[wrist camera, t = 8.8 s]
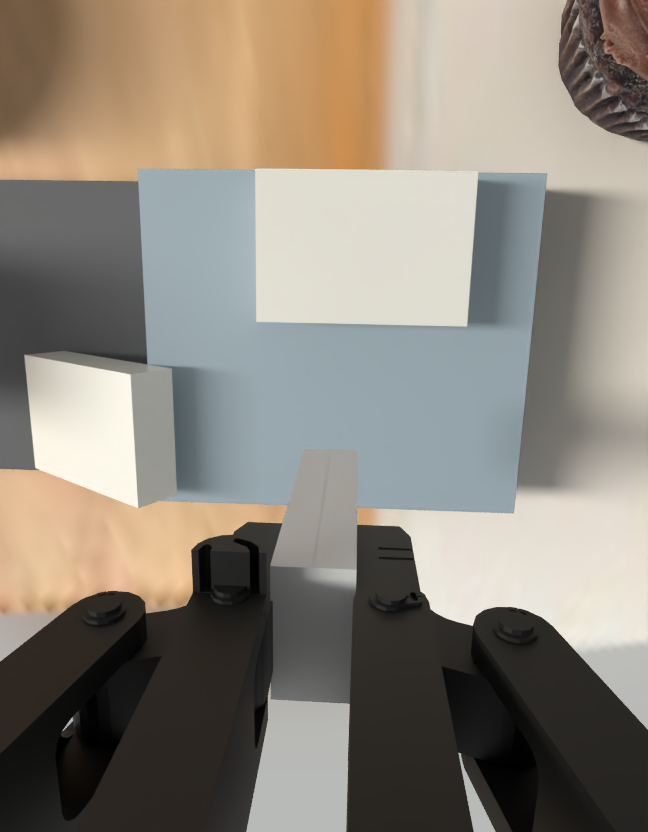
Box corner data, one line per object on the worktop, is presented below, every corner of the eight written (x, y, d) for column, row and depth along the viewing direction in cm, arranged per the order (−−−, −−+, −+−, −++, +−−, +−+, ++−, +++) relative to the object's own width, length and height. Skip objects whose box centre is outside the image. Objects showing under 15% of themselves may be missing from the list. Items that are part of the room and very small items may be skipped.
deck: (167, 183, 28) (137, 168, 24) (519, 187, 27) (547, 173, 23) (179, 471, 31) (154, 500, 27) (493, 482, 30) (513, 513, 27)
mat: (-126, 179, 28) (-133, 178, 28) (167, 183, 28) (165, 181, 27) (-85, 463, 32) (-90, 465, 31) (179, 471, 31) (177, 474, 31)
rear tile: (64, 350, 29) (24, 354, 28) (171, 368, 25) (130, 374, 23) (73, 458, 31) (35, 468, 29) (176, 494, 26) (138, 507, 25)
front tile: (263, 177, 24) (255, 168, 22) (468, 179, 23) (478, 171, 22) (263, 317, 25) (256, 321, 23) (458, 322, 25) (467, 326, 23)
